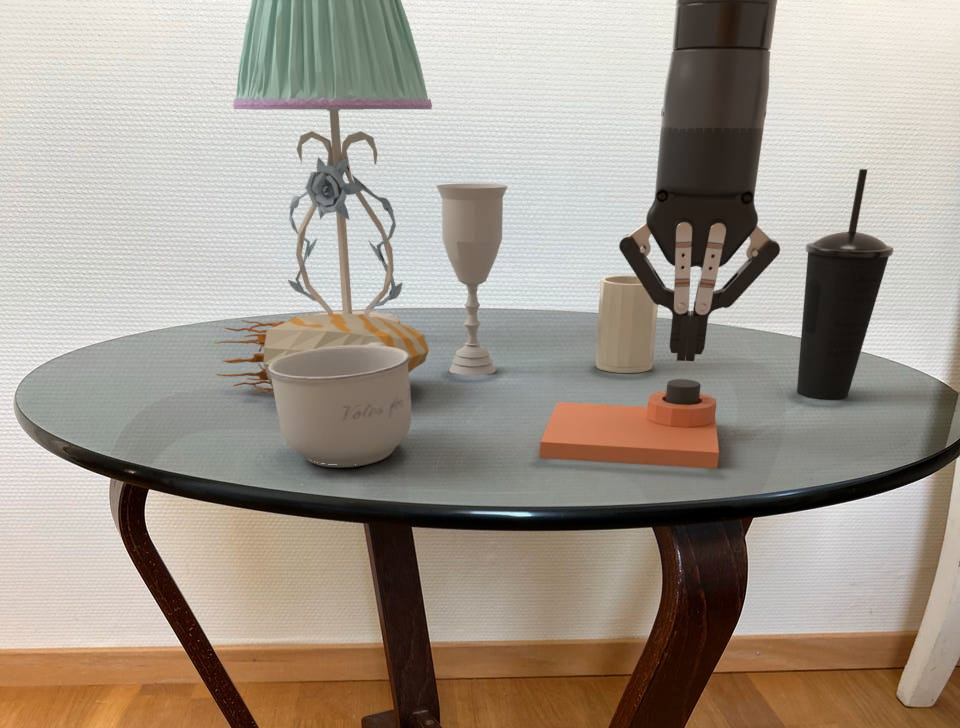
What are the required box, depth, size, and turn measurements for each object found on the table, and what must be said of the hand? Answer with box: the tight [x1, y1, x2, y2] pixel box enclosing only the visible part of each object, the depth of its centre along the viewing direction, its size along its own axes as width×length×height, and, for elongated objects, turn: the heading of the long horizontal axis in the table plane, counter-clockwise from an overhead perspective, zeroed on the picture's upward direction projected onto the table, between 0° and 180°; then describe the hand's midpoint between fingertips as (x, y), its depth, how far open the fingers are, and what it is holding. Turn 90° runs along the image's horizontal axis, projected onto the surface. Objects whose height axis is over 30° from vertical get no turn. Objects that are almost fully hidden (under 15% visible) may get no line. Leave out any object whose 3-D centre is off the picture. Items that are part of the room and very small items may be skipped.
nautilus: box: [213, 313, 430, 396], centre depth 91 cm, size 8×22×15 cm
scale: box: [539, 391, 720, 469], centre depth 79 cm, size 14×12×3 cm
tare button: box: [665, 378, 702, 405], centre depth 80 cm, size 3×3×2 cm
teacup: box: [268, 342, 412, 468], centre depth 75 cm, size 14×11×8 cm
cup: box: [595, 274, 659, 374], centre depth 101 cm, size 6×6×9 cm
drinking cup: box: [796, 168, 894, 401], centre depth 88 cm, size 8×8×20 cm
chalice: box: [436, 182, 509, 376], centre depth 97 cm, size 7×7×18 cm
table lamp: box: [232, 0, 433, 323], centre depth 106 cm, size 22×22×40 cm
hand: (685, 358), depth 78 cm, fingers closed
